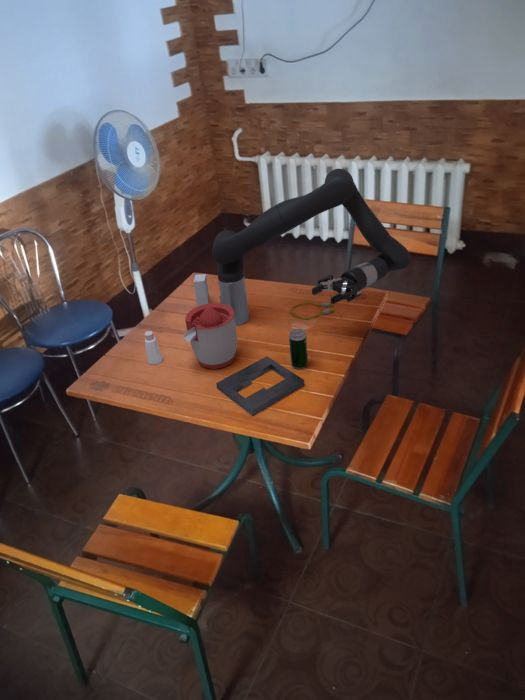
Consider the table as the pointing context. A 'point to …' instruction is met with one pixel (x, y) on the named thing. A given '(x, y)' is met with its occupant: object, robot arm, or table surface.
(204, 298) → the skincare box
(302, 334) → the green drink can
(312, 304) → the extension cord
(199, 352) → the citrus juicer
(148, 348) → the pepper shaker
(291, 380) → the keyhole plate
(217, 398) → the table surface
